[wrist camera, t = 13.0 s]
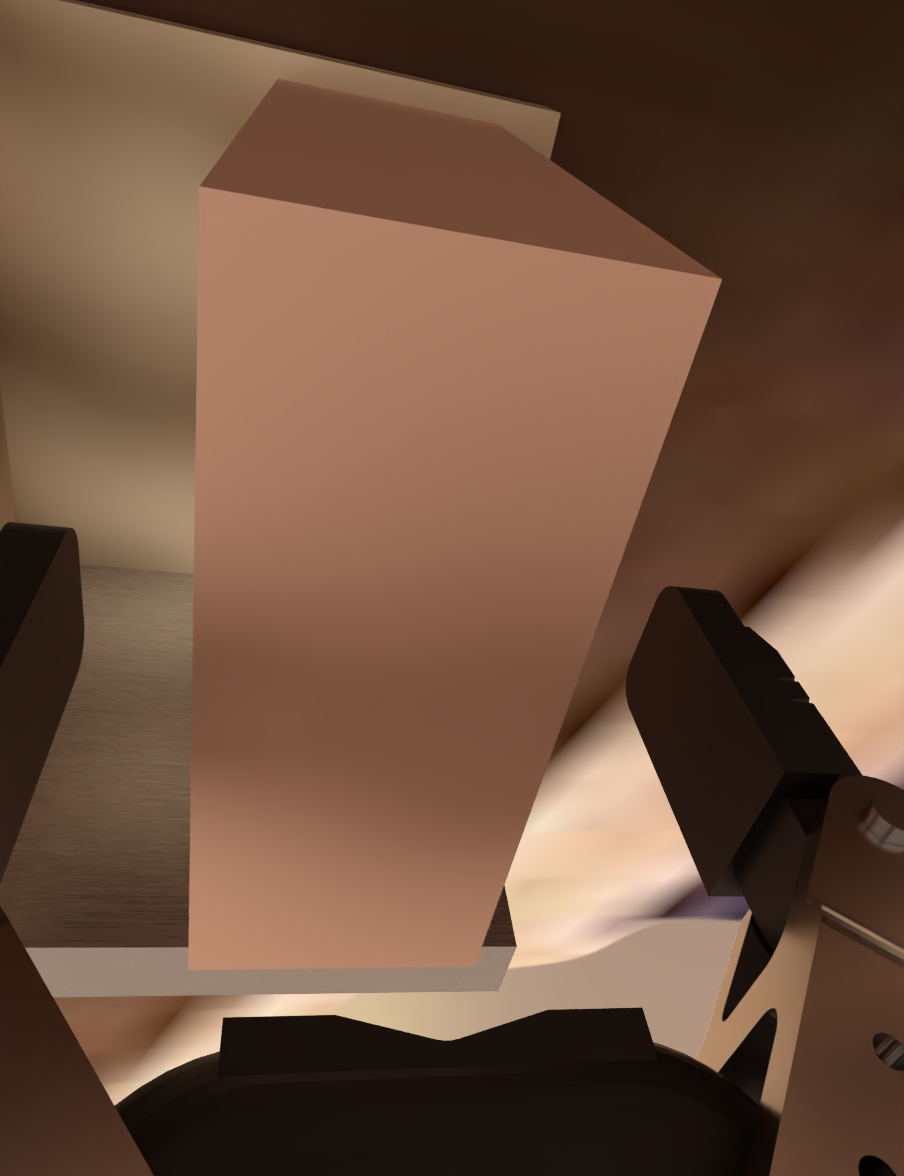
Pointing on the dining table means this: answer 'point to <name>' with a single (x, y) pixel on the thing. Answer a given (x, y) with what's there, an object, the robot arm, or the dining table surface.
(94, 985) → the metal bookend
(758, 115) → the dining table surface
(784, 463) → the dining table surface
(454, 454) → the terracotta book
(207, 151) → the plywood shelf
